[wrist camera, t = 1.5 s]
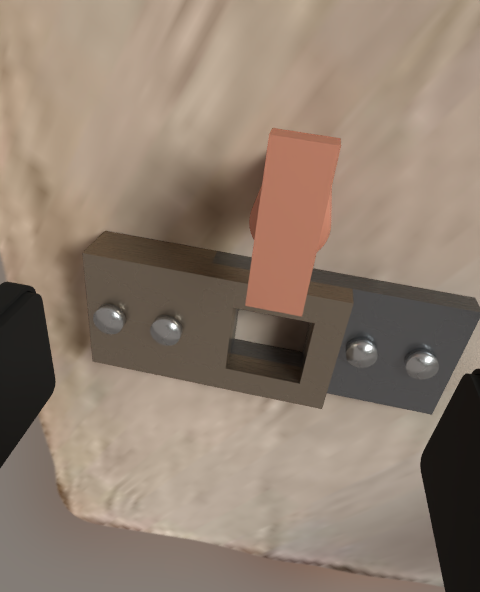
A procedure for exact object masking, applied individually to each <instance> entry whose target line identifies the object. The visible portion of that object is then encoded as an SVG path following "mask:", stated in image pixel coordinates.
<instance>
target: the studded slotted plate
mask: <svg viewBox="0 0 480 592" xmlns="http://www.w3.org/2000/svg"><path fill="white" fill-rule="evenodd" d="M251 261H252V257H246V256H241V255H235V254H230V253H224V252H219V251H213V250H208V249H202V248H197V247H191V246H186V245H180V244H175V243H169V242H164V241H158V240H153V239H147V238H142V237H136V236H131V235H125V234H120V233H114V232H108V231H105V232H104V233H103V234H102V235H101V236H100V237H99V238H98V239H97V240H95V241H94V242H93V243H92V244H91V245H90V246H89V247H88V248H87V249H86V250H85V251H84V252H83V263H84V274H85V285H86V295H87V306H88V317H89V327H90V338H91V348H92V359H93V361H94V362H98V363H103V364H108V365H113V366H118V367H122V368H127V369H132V370H137V371H142V372H146V373H151V374H156V375H161V376H166V377H170V378H175V379H180V380H185V381H190V382H194V383H199V384H204V385H209V386H214V387H218V388H223V389H228V390H233V391H238V392H242V393H247V394H252V395H257V396H262V397H266V398H271V399H276V400H281V401H286V402H290V403H295V404H300V405H305V406H310V407H314V408H319V409H322V407H323V404H324V400H325V397H326V394H327V393H329V394H334V395H339V396H344V397H349V398H354V399H359V400H363V401H368V402H373V403H378V404H383V405H388V406H393V407H398V408H403V409H407V410H412V411H417V412H422V413H427V414H432V413H433V411H434V409H435V407H436V405H437V403H438V401H439V399H440V397H441V395H442V393H443V391H444V389H445V387H446V385H447V383H448V381H449V379H450V377H451V375H452V373H453V371H454V369H455V367H456V365H457V363H458V361H459V359H460V357H461V355H462V353H463V351H464V349H465V347H466V345H467V343H468V341H469V339H470V337H471V335H472V333H473V331H474V329H475V327H476V325H477V323H478V321H479V319H480V307H479V305H478V303H477V301H476V299H475V298H472V297H467V296H461V295H456V294H450V293H445V292H439V291H434V290H428V289H423V288H417V287H411V286H406V285H400V284H395V283H389V282H384V281H378V280H373V279H367V278H362V277H356V276H351V275H345V274H340V273H334V272H329V271H323V270H318V269H313V270H312V275H311V279H310V283H309V288H308V292H307V297H306V301H305V305H304V310H303V314H302V316H296V315H291V314H286V313H281V312H275V311H270V310H265V309H260V308H255V307H249V306H245V304H246V296H247V289H248V282H249V275H250V268H251ZM238 309H243V310H248V311H254V312H259V313H264V314H269V315H274V316H280V317H285V318H290V319H295V320H301V321H306V322H310V324H309V328H308V333H307V337H306V341H305V345H304V349H303V352H298V351H293V350H288V349H283V348H278V347H273V346H268V345H262V344H257V343H252V342H247V341H242V340H237V339H235V331H236V324H237V316H238Z"/></svg>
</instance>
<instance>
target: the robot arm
mask: <svg viewBox="0 0 480 592" xmlns="http://www.w3.org/2000/svg"><path fill="white" fill-rule="evenodd" d="M54 388H55V374H54V368H53V362H52V356H51V350H50V343H49V337H48V331H47V325H46V319H45V313H44V307H43V301H42V297H41V296H40V295H39V294H36V291H35V289H34V288H33V287H31V286H28V285H23V284H17V283H12V282H4V283H2V284H1V285H0V468H1V466H2V465H3V464H4V462H5V461H6V459H7V458H8V457H9V455H10V454H11V452H12V451H13V449H14V448H15V447H16V445H17V444H18V442H19V441H20V439H21V438H22V437H23V435H24V434H25V432H26V431H27V429H28V428H29V427H30V425H31V424H32V422H33V421H34V419H35V418H36V417H37V415H38V414H39V412H40V411H41V409H42V408H43V407H44V405H45V404H46V402H47V401H48V399H49V398H50V397H51V395H52V393H53V391H54ZM420 467H421V474H422V479H423V484H424V489H425V493H426V498H427V503H428V508H429V513H430V518H431V523H432V528H433V533H434V538H435V543H436V548H437V552H438V557H439V562H440V567H441V572H442V577H443V582H444V587H445V592H480V369H476V370H474V371H473V372H472V374H465V375H464V376H463V377H462V379H461V380H460V382H459V384H458V386H457V388H456V390H455V392H454V394H453V396H452V398H451V400H450V402H449V403H448V405H447V407H446V409H445V411H444V413H443V415H442V417H441V419H440V421H439V423H438V424H437V426H436V428H435V430H434V432H433V434H432V436H431V438H430V440H429V442H428V444H427V446H426V447H425V449H424V451H423V453H422V457H421V463H420Z"/></svg>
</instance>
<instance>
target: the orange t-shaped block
mask: <svg viewBox="0 0 480 592" xmlns="http://www.w3.org/2000/svg"><path fill="white" fill-rule="evenodd" d="M340 148H341V139H340V138H334V137H327V136H321V135H315V134H308V133H302V132H295V131H289V130H282V129H276V128H272V130H271V132H270V134H269V140H268V147H267V154H266V161H265V168H264V175H263V182H262V186H261V188H260V191H259V193H258V196H257V198H256V200H255V203H254V205H253V208H252V210H251V213H250V219H249V225H250V231H251V234H252V237H253V239H254V247H253V254H252V261H251V268H250V275H249V282H248V289H247V296H246V304H245V306H249V307H255V308H260V309H265V310H270V311H275V312H281V313H286V314H291V315H296V316H302V314H303V310H304V305H305V301H306V297H307V292H308V288H309V283H310V279H311V275H312V270H313V266H314V261H315V257H316V253H317V252H318V251H319V250H320V249H321V248H322V247H323V245H324V244H325V243H326V241H327V239H328V237H329V234H330V230H331V198H332V183H333V178H334V174H335V169H336V165H337V161H338V156H339V152H340Z"/></svg>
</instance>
